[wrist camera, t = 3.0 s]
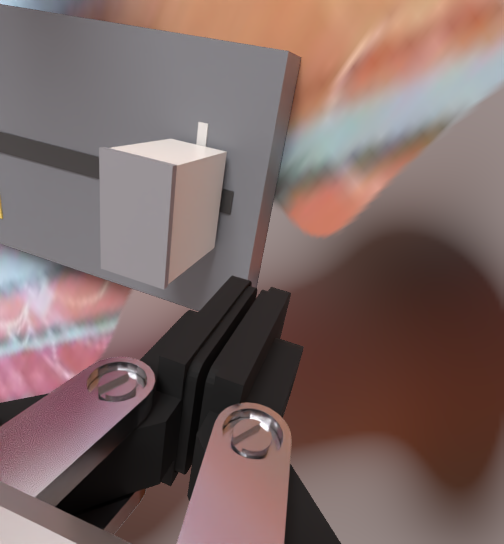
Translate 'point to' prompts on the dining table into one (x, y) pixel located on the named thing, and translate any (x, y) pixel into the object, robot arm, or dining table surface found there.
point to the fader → (158, 208)
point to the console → (134, 134)
